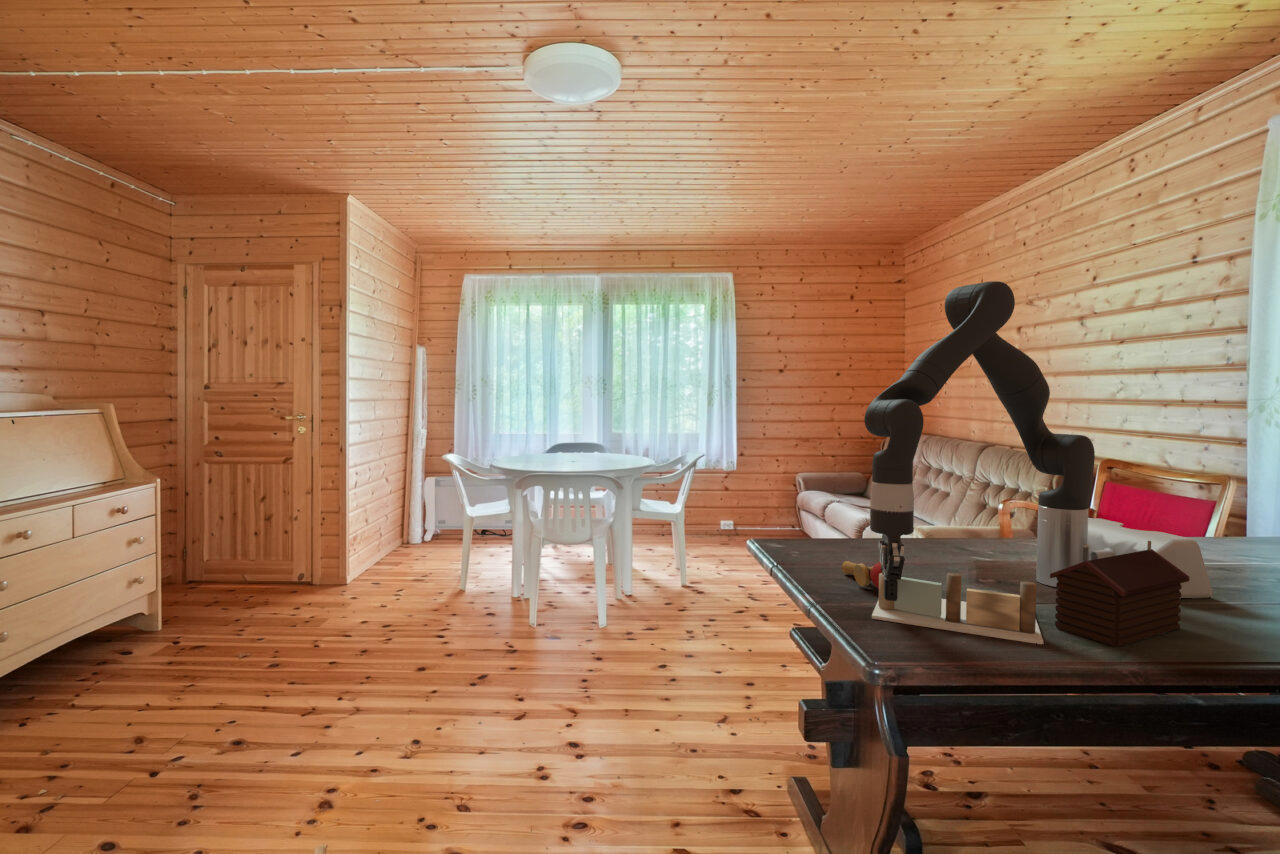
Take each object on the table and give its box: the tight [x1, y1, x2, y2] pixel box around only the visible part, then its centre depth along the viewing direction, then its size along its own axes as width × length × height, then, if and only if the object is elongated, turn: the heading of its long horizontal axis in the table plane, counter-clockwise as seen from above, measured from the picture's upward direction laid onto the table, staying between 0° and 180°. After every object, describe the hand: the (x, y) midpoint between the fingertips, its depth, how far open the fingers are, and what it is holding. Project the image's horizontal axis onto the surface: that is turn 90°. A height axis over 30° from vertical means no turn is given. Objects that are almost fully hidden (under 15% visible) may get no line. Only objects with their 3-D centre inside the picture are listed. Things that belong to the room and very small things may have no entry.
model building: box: [1050, 541, 1190, 648], centre depth 111 cm, size 21×12×15 cm, turn 115°
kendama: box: [841, 560, 883, 590], centre depth 137 cm, size 8×6×18 cm
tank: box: [1087, 517, 1214, 600], centre depth 139 cm, size 25×16×12 cm, turn 7°
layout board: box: [871, 598, 1044, 645], centre depth 118 cm, size 27×17×1 cm, turn 63°
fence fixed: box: [945, 572, 1038, 634], centre depth 111 cm, size 14×2×9 cm, turn 63°
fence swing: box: [878, 573, 943, 617], centre depth 118 cm, size 11×3×6 cm, turn 54°
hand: (890, 599), depth 116 cm, fingers closed
